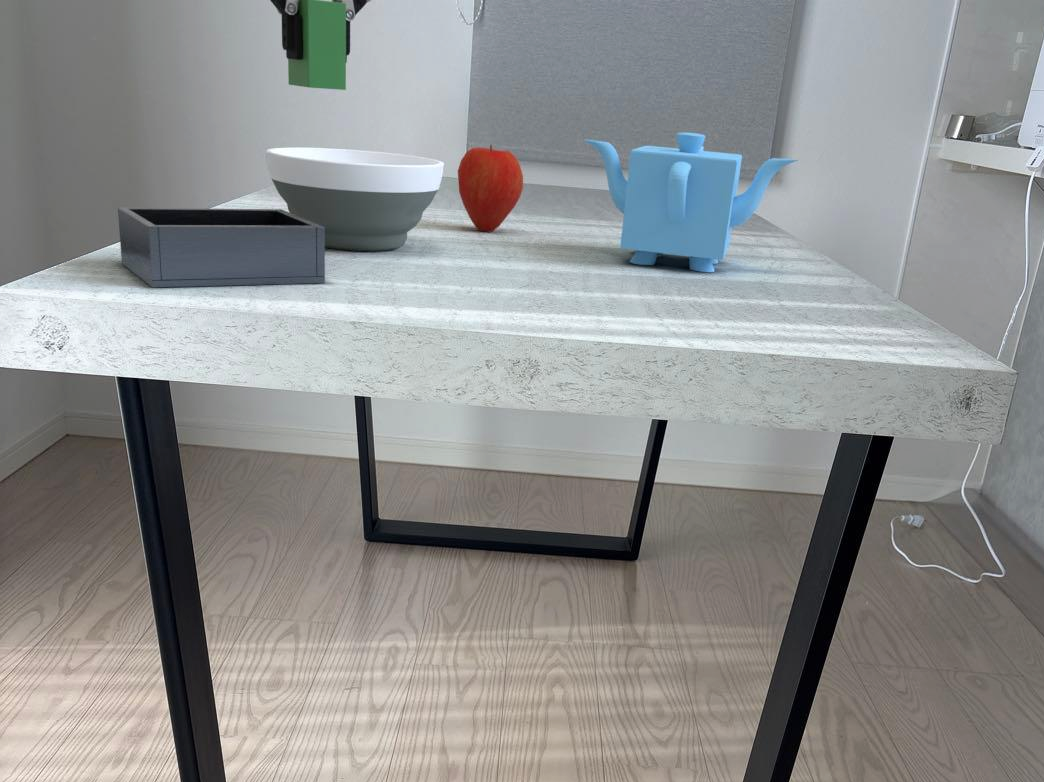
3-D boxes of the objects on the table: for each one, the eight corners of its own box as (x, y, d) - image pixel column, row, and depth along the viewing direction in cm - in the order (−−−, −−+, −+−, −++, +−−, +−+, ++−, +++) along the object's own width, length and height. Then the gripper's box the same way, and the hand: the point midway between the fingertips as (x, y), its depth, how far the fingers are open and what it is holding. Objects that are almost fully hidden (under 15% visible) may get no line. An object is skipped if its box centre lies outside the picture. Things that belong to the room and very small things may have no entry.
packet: (346, 89, 109) (346, 3, 105) (308, 87, 107) (307, -1, 103) (324, 87, 113) (324, 3, 110) (288, 84, 111) (286, -1, 108)
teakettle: (664, 278, 116) (682, 136, 111) (568, 249, 131) (579, 122, 125) (785, 274, 126) (808, 144, 121) (684, 248, 140) (700, 130, 135)
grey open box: (152, 287, 90) (148, 226, 88) (121, 263, 99) (117, 207, 97) (325, 283, 98) (325, 226, 96) (282, 261, 107) (281, 209, 105)
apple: (530, 232, 142) (537, 147, 138) (497, 237, 135) (503, 148, 131) (477, 224, 146) (482, 141, 142) (442, 228, 139) (446, 141, 135)
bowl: (447, 262, 114) (451, 170, 110) (260, 252, 111) (258, 156, 107) (434, 236, 132) (437, 155, 128) (273, 227, 128) (272, 143, 125)
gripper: (379, -129, 109) (376, 66, 116) (216, -159, 100) (224, 53, 108) (410, -137, 103) (406, 68, 110) (240, -169, 94) (247, 55, 102)
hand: (316, 59), depth 109 cm, fingers closed on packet, 4 cm apart
